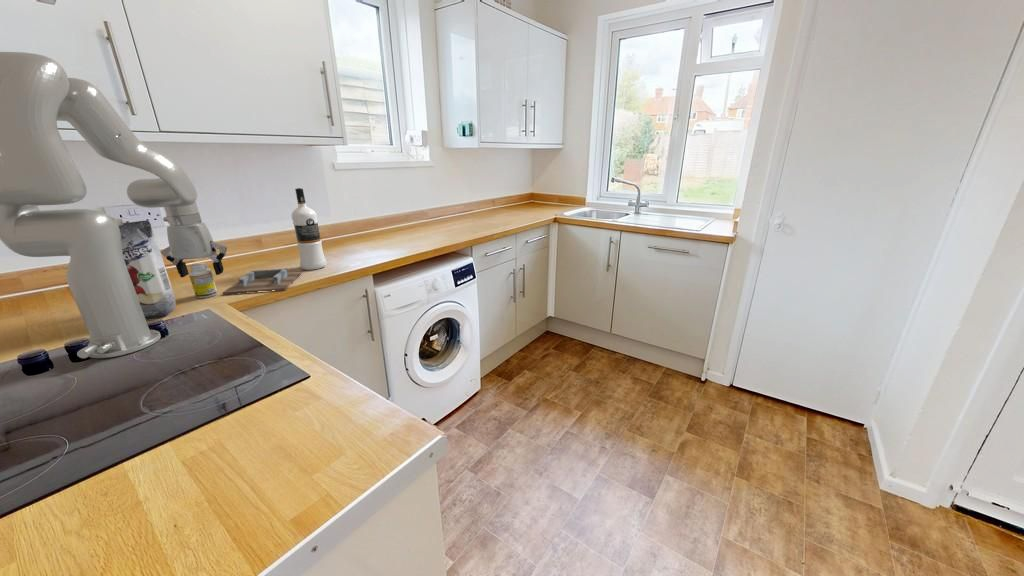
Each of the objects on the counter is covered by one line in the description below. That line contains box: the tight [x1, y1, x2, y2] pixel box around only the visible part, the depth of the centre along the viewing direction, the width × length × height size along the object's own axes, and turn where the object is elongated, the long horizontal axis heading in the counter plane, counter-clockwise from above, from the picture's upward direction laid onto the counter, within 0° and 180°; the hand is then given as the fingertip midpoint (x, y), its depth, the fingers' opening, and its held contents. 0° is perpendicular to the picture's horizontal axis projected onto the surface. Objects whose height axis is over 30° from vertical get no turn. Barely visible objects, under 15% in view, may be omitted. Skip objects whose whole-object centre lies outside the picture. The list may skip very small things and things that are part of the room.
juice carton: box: [113, 218, 177, 320], centre depth 104 cm, size 9×10×27 cm
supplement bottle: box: [188, 262, 218, 299], centre depth 121 cm, size 6×6×10 cm
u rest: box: [222, 268, 303, 296], centre depth 132 cm, size 18×18×4 cm
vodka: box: [291, 187, 328, 271], centre depth 146 cm, size 9×9×30 cm
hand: (202, 274), depth 121 cm, fingers open, 9 cm apart
